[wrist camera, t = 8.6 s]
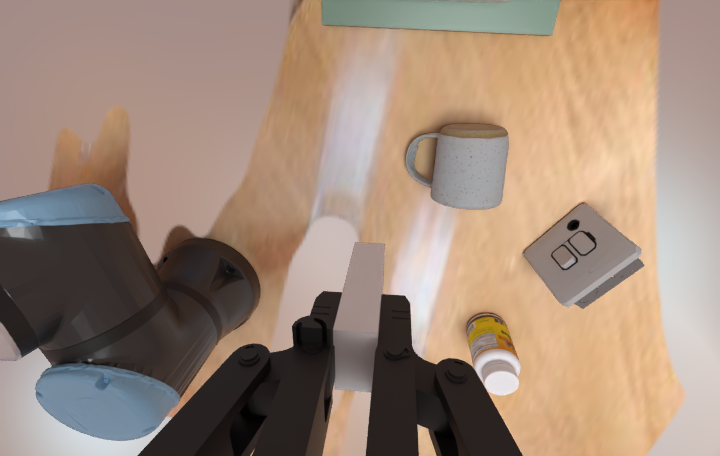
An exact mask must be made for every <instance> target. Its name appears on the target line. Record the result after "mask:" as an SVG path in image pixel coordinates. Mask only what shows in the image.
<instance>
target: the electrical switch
mask: <svg viewBox="0 0 720 456" xmlns="http://www.w3.org/2000/svg"><path fill="white" fill-rule="evenodd" d="M524 256H525V258H526V259H527V260H528V262H529V263H530V265H531V266H532V267H533V269H534V270H535V271H536V272H537V274H538V275H539V276H540V278H541V279H542V280H543V282H544V283H545V284H546V286H547V287H548V288H549V290H550V291H551V292H552V294H553V295H554V296H555V298H556V299H557V300H558V302H559V303H561V304H562V305H563V306H566V307H570V306H571V305H573V304H576V305H578V306H579V307H581V308H582V309H584V308H585V307H586V306H588V305H589V304H591V303H592V302H594V301H595V300H596V299H598V298H599V297H601V296H602V295H604V294H605V293H606V292H608V291H609V290H611V289H612V288H614V287H615V286H616V285H618V284H619V283H621V282H622V281H623V280H625V279H626V278H628V277H629V276H631V275H632V274H633V273H635V272H636V271H638V270H639V269H641V268H642V267H643V266H645V265H644V263H643V262H642V261H641V260H639V259H638V258H639V257H640V256H641V249H640V248H639V247H638V246H637V245H636V244H634V243H633V242H632V241H630V240H629V239H628V238H627V237H625V236H624V235H623V234H622V233H621V232H619V231H618V230H617V229H616V228H615V227H613V226H612V225H611V224H610V223H609V222H607V221H606V220H605V219H604V218H603V217H601V216H600V215H599V214H598V213H597V212H596V211H595V210H594V209H592V208H591V207H590V206H588V205H587V204H581V205H578V206H577V207H576V208H575V209H574V210H572V211H571V212H570V213H569V214H568V215H567V216H565V217H564V218H563V219H562V220H561V221H559V222H558V223H557V224H556V225H555V226H554V227H552V228H551V229H550V230H549V231H548V232H546V233H545V234H544V235H543V236H542V237H540V238H539V239H538V240H537V241H536V242H535V243H533V244H532V245H531V246H530V247H529V248H527V249H526V250H525V253H524ZM640 261H641V262H640ZM632 270H633V271H632ZM612 276H614V277H612ZM598 287H599V288H598ZM596 290H597V291H596Z"/></svg>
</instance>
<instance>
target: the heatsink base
mask: <svg viewBox="0 0 720 456" xmlns="http://www.w3.org/2000/svg"><path fill="white" fill-rule="evenodd" d="M560 1H561V0H322V25H330V26H351V27H372V28H393V29H414V30H435V31H456V32H477V33H498V34H519V35H540V36H551V35H552V33H553V29H554V25H555V21H556V17H557V13H558V9H559V5H560Z"/></svg>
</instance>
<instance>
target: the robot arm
mask: <svg viewBox="0 0 720 456" xmlns="http://www.w3.org/2000/svg"><path fill="white" fill-rule="evenodd" d="M130 221H131V220H130V219H129V217H126V216H125V214H124V213H123V211H122V210H121V208H120V207H119V205H118V203H117V202H116V200H115V198H114V197H113V195H112V194H111V193H110V191H108V190H107V189H106V188H104V187H103V186H100V185H97V184H90V183H87V184H80V185H75V186H70V187H66V188H61V189H56V190H51V191H46V192H42V193H37V194H33V195H27V196H23V197H18V198H13V199H8V200H4V201H0V360H3V361H4V360H5V361H7V360H8V361H16V360H18V359H20V358H22V357H24V356H25V355H27V354H29V353H30V352H32V351H33V350H35V349H37V348H39V349H40V350H41V351H42V353H43V354H44V355H45V357H46V358H47V359H48V361H49V362H50V363H51V365H52V367H51V368H48V369H46V370H45V371H44V372H43V373H42V375H41V377H40V379H39V380H38V381H37V383H36V388H35V389H36V398H37V400H38V402H39V403H40V405H41V406H42V407H43V408H44V409H45V410H46V411H47V412H48V413H49V414H50V415H51V416H53V417H54V418H55V419H57V420H58V421H60V422H61V423H63V424H65V425H66V426H68V427H70V428H72V429H74V430H76V431H79V432H81V433H84V434H87V435H90V436H93V437H97V438H101V439H107V440H115V441H126V440H134V439H138V438H141V437H144V436H146V435H148V434H150V433H151V432H153V431H154V430H155V429H156V428H157V427H158V426H159V425H160V424H161V423H162V421H163V420H164V419H165V417H166V416H167V415H168V414H169V412H170V411H171V410H172V409H173V408H174V407H176V406H177V405H178V403H179V401H180V399H181V397H182V396H183V394H184V393H185V391H186V390H187V388H188V387H189V385H190V384H191V382H192V381H193V379H194V378H195V376H196V375H197V373H198V372H199V370H200V369H201V367H202V366H203V364H204V363H205V361H206V360H207V358H208V357H209V355H210V354H211V352H212V351H213V349H214V348H215V346H216V345H217V343H218V342H219V340H221V339H222V338H223V337H225V336H226V335H227V334H229V333H230V332H231V331H233V330H235V329H237V328H238V327H240V326H241V325H243V324H244V323H245V322H246V321H247V320H248V319H249V318H250V316H251V315H252V313H253V312H254V310H255V308H256V307H257V305H258V302H259V298H260V285H259V281H258V278H257V276H256V273H255V271H254V270H253V268H252V267H251V265H250V264H249V263H248V261H247V260H246V259H245V258H244V257H243V256H242V255H241V254H239V253H238V252H237V251H235V250H234V249H232V248H231V247H229V246H227V245H225V244H223V243H220V242H217V241H214V240H210V239H191V240H187V241H184V242H182V243H180V244H178V245H177V246H175V247H174V248H173V249H172V250H170V251H169V252H168V253H167V254H166V255H165V256H164V257H163V258H162V259H161V261H160V263H159V264H158V266H157V269H156V270H155V268H154V266H153V265H152V263H151V261H150V259H149V257H148V256H147V254H146V252H145V250H144V248H143V246H142V244H141V242H140V241H139V239H138V237H137V235H136V233H135V231H134V229H133V228H132V226H131V224H130ZM384 257H385V244H376V243H358V242H355V244H354V248H353V252H352V256H351V261H350V264H349V268H348V272H347V276H346V280H345V284H344V288H343V292H342V293H341V292H327V291H323V292H322V293H321V294H320V295H319V296H318V297H317V298H316V299H315V302H314V305H313V308H312V311H311V314H310V316H306V317H302V318H300V319H298V320H297V321H295V323H294V324H293V326H292V331H293V344H294V346H293V347H292V348H289V349H287V350H283V351H279V352H273V353H270V352H269V350H268V349H267V347H265V346H263V345H261V344H248V345H245V346H242V347H240V348H238V349H237V350H236V351H235V352H233V353H232V354H231V355H230V357H229V358H228V359H227V360H226V361H225V362H224V363H223V364H222V365H221V366H220V367H219V368H218V369H217V371H216V372H215V373H214V374H213V375H212V376H211V377H210V378H209V379H208V380H207V381H206V382H205V383H204V385H203V386H202V387H201V388H200V389H199V390H198V391H197V392H196V393H195V394H194V395H193V396H192V398H191V399H190V400H189V401H188V402H187V403H186V404H185V405H184V406H183V407H182V408H181V409H180V410H179V412H178V413H177V414H176V415H175V416H174V417H173V418H172V419H171V420H170V421H169V422H168V424H167V425H166V426H165V427H164V428H163V429H162V430H161V431H160V432H159V433H158V434H157V435H156V436H155V438H153V440H152V441H151V442H150V443H149V444H148V445H147V446H146V447H145V448H144V449H143V450H142V451H141V453H140V454H139V455H138V456H250V455H251V453H252V452H253V450H254V452H253V455H252V456H322V454H323V449H324V443H325V438H326V433H327V428H328V423H329V418H330V413H331V408H332V402H333V401H332V390H333V386H335V389H337V390H348V391H360V392H371V393H372V394H371V404H370V415H369V426H368V437H367V449H366V456H419V452H418V431H417V424H418V425H421V426H423V427H426V428H428V429H429V434H430V437H431V440H432V443H433V446H434V449H435V452H436V455H437V456H523V455H522V453H521V452H520V450H519V448H518V446H517V444H516V443H515V441H514V439H513V437H512V435H511V434H510V432H509V430H508V428H507V426H506V425H505V423H504V421H503V419H502V417H501V416H500V414H499V412H498V410H497V408H496V407H495V405H494V403H493V401H492V399H491V398H490V396H489V394H488V392H487V390H486V389H485V387H484V385H483V383H482V381H481V380H480V378H479V376H478V374H477V372H476V371H475V370H474V369H473V367H472V366H471V365H469V364H468V363H466V362H465V361H462V360H459V359H452V358H448V359H444V360H442V361H440V362H439V363H438V364H437V365H436V364H433V363H430V362H428V361H426V360H423V359H422V358H420V357H419V356H418V355H417V354H416V353H415V352H414V350H413V347H412V336H411V313H410V303H409V301H408V300H407V298H406V297H405V296H400V295H385V294H383V280H384ZM254 448H255V449H254Z"/></svg>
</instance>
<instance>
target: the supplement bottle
mask: <svg viewBox="0 0 720 456" xmlns="http://www.w3.org/2000/svg"><path fill="white" fill-rule="evenodd" d="M467 337H468V342H469V347H470V352H471V357H472V362H473V367H474V370H475V371H476V372H477V374H478V376H479V378H480V380H481V381H483V382H484V385H485V388H486V389H487V390H488V391H489V392H490V393H492V394H495V395H508V394H511V393H513V392H514V391H515V390H516V389H517V388H518V386H519V380H518V376H519V373H520V370H521V366H520V362H519V359H518V356H517V353H516V350H515V348H514V345H513V342H512V340H511V337H510V334H509V331H508V329H507V326H506V324H505V322H504V321H503V320H502V319H501V318H500V317H498V316H496V315H493V314H480V315H477V316H475V317H474V318H472V319H471V320H470V321H469V323H468V325H467Z"/></svg>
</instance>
